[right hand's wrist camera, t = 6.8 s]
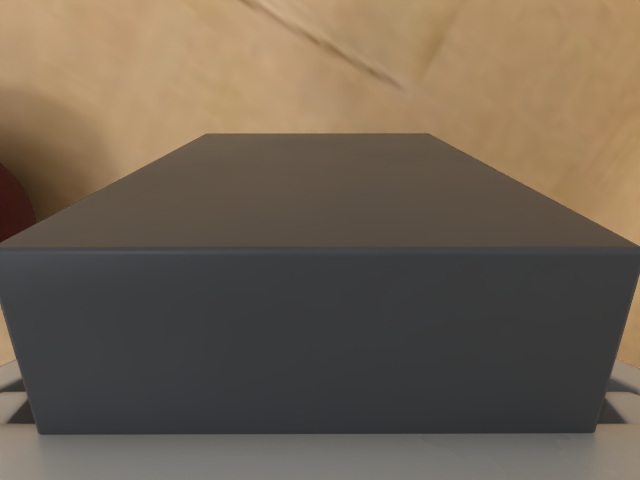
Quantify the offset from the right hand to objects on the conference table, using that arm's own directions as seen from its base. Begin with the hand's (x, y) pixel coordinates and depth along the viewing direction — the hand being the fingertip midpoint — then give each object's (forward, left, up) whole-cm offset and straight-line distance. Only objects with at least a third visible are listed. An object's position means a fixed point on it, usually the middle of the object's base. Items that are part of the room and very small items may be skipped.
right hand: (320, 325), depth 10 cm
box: (+9, 0, -4) cm, 10 cm away
